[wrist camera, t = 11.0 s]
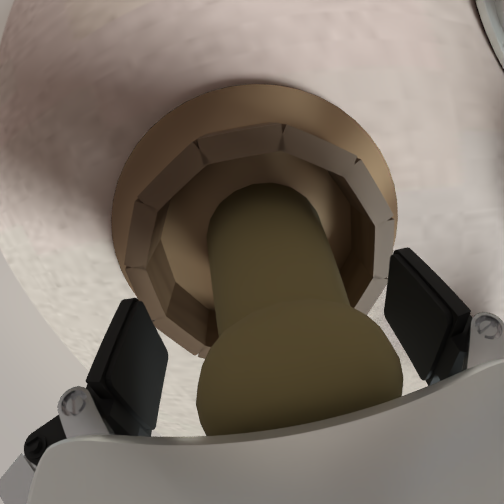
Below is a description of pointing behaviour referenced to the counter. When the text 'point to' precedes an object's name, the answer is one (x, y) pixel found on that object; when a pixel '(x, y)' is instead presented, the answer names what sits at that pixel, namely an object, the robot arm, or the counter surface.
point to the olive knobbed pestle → (284, 322)
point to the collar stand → (239, 176)
